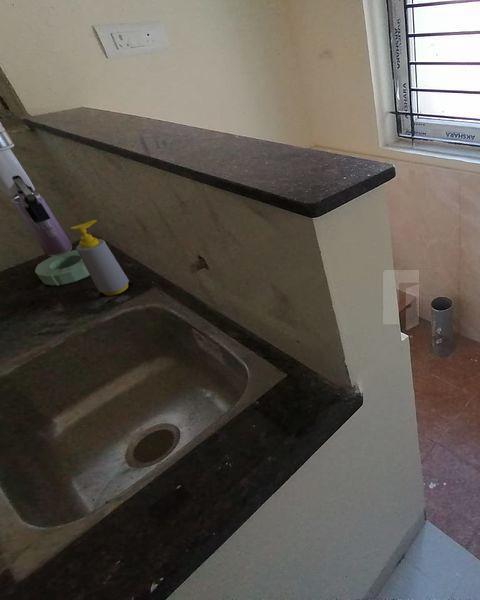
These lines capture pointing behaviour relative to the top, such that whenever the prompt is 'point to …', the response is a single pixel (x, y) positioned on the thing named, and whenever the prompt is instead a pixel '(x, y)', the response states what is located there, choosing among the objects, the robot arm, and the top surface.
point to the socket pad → (62, 269)
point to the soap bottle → (100, 262)
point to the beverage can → (44, 229)
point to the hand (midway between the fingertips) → (37, 216)
